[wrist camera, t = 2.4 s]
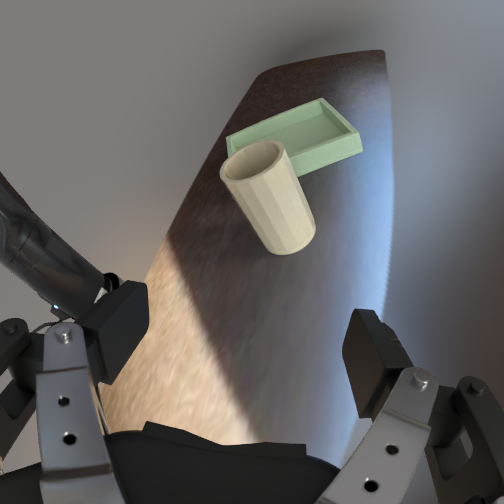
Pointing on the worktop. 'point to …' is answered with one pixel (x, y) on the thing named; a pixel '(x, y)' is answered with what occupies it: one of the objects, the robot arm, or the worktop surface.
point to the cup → (269, 196)
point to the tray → (304, 136)
